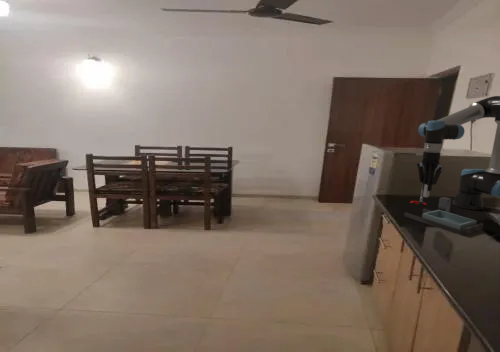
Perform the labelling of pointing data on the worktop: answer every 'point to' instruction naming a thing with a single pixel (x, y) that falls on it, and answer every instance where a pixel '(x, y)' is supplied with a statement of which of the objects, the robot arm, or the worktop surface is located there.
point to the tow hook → (420, 199)
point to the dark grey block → (444, 204)
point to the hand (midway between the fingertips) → (425, 196)
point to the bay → (448, 228)
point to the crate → (449, 219)
